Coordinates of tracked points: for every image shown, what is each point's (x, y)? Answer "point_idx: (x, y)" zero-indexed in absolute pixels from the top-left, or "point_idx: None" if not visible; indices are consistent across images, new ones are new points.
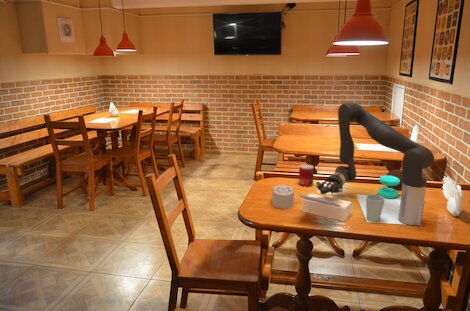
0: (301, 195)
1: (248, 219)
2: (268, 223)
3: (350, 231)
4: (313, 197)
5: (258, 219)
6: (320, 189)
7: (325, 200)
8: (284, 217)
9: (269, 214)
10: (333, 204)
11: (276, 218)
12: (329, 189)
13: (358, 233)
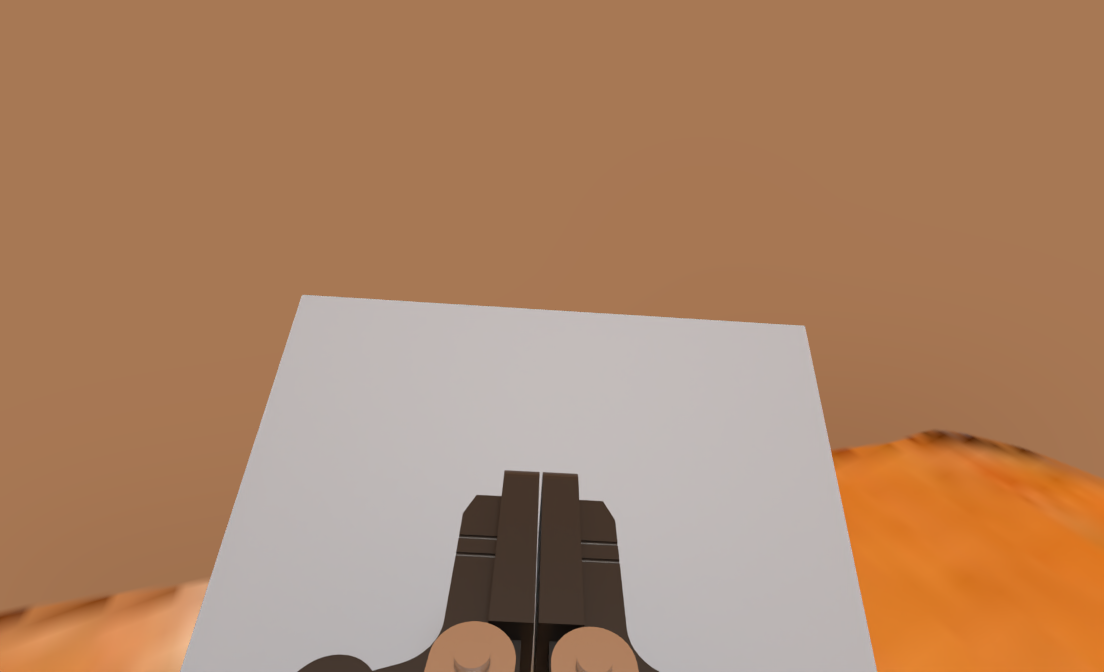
0: (740, 327)
1: (1010, 454)
2: (852, 460)
3: (116, 626)
4: (572, 312)
5: (968, 480)
6: (614, 519)
7: (405, 304)
8: (870, 607)
9: (1031, 599)
10: (302, 490)
11: (898, 554)
12: (415, 665)
13: (25, 621)
